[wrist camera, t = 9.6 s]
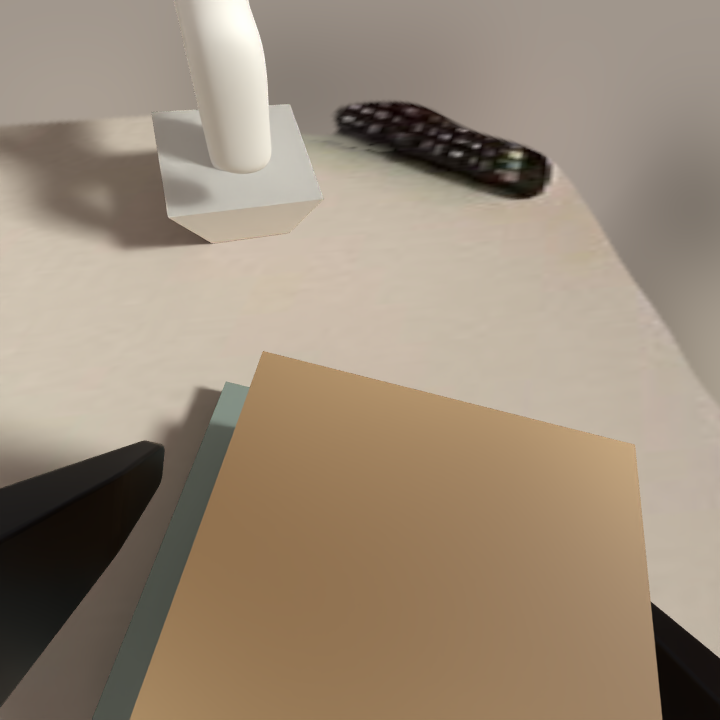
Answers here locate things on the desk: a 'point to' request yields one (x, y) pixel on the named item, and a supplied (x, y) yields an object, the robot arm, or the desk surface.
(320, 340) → the desk surface
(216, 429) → the socket holder
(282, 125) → the figurine
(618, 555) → the oak stick
